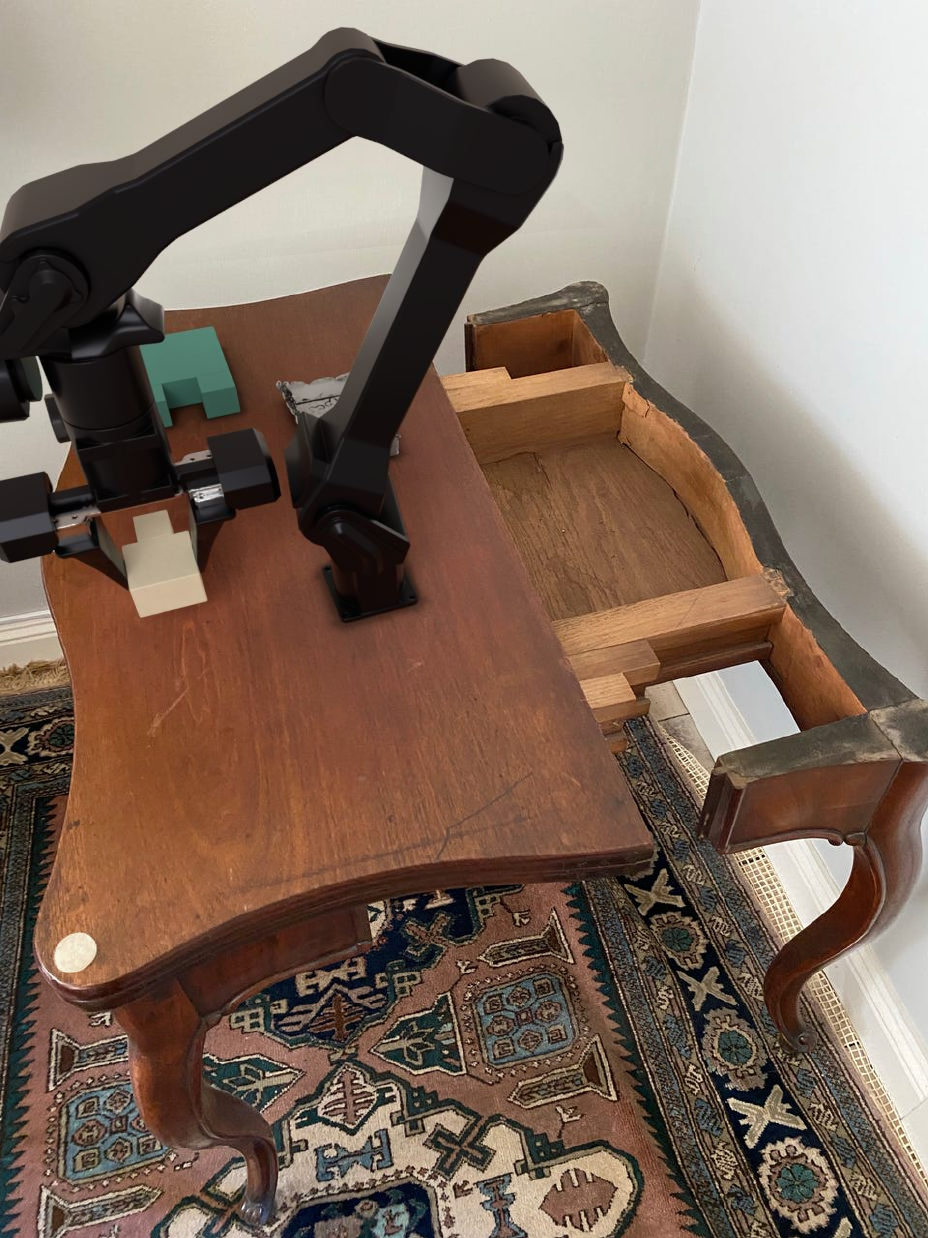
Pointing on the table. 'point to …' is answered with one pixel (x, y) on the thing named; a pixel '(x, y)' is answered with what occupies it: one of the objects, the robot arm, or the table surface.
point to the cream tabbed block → (162, 567)
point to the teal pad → (190, 373)
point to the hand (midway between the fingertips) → (166, 577)
